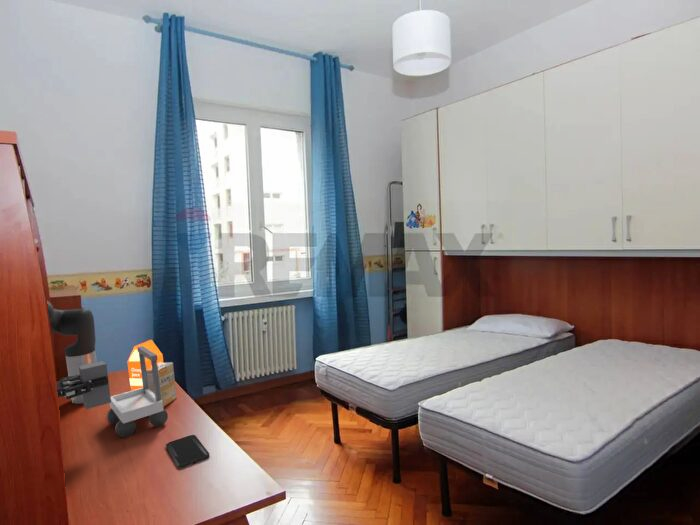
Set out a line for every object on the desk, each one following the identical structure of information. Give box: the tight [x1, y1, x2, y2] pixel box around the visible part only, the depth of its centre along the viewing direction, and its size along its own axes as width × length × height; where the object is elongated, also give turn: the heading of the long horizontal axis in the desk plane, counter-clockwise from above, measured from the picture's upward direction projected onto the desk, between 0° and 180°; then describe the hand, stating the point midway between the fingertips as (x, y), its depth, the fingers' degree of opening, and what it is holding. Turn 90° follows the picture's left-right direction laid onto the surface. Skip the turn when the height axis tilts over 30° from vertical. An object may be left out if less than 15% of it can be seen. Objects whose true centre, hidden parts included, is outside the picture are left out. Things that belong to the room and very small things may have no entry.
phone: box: [165, 434, 210, 469], centre depth 113 cm, size 8×1×15 cm
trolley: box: [106, 346, 169, 439], centre depth 132 cm, size 18×14×22 cm
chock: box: [79, 360, 111, 410], centre depth 120 cm, size 4×6×11 cm
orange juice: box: [127, 339, 164, 391], centre depth 154 cm, size 8×9×20 cm
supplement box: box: [147, 361, 177, 408], centre depth 148 cm, size 8×5×13 cm, turn 168°
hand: (105, 377), depth 122 cm, fingers closed on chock, 4 cm apart
